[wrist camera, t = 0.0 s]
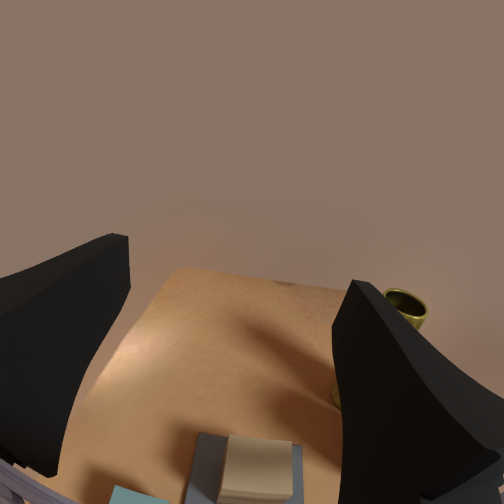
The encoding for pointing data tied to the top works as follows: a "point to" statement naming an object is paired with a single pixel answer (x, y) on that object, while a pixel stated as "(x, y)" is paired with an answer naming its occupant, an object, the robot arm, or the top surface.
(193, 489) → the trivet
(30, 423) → the robot arm
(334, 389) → the vase
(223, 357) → the top surface
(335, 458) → the top surface
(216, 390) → the top surface
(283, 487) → the tower mid
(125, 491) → the cube
